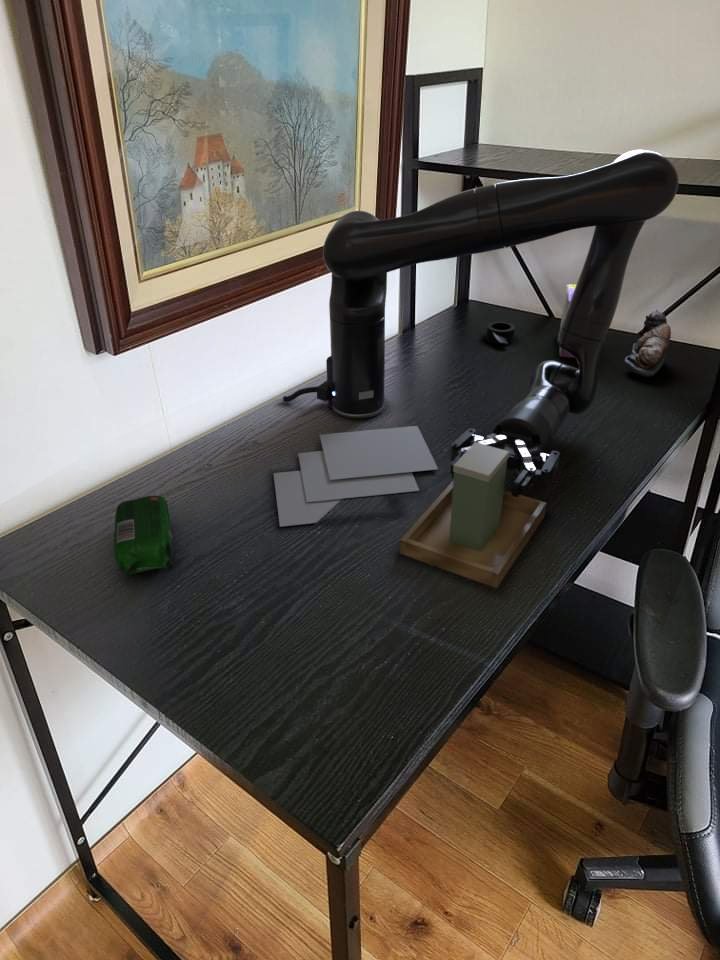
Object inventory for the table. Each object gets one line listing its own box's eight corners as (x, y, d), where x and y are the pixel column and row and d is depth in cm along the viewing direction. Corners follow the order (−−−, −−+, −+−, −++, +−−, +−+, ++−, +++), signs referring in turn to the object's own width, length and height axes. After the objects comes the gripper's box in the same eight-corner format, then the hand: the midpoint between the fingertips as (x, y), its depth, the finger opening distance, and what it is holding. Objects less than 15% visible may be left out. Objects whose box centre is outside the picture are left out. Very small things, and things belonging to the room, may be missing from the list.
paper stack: (454, 508, 104) (455, 504, 104) (279, 526, 101) (279, 522, 100) (417, 429, 123) (417, 425, 123) (269, 442, 120) (269, 439, 120)
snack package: (119, 594, 90) (111, 562, 87) (119, 521, 102) (112, 490, 99) (177, 584, 91) (171, 552, 88) (171, 513, 104) (166, 483, 101)
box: (588, 359, 147) (598, 302, 140) (559, 357, 148) (568, 300, 141) (585, 339, 155) (595, 285, 149) (558, 337, 156) (566, 283, 150)
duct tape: (526, 335, 157) (528, 323, 156) (505, 351, 151) (507, 337, 149) (494, 328, 161) (495, 315, 160) (472, 342, 154) (473, 329, 153)
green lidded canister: (447, 541, 97) (453, 465, 91) (468, 515, 102) (474, 441, 96) (481, 552, 95) (489, 475, 89) (500, 526, 100) (509, 451, 93)
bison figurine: (658, 384, 137) (670, 333, 131) (619, 377, 140) (630, 327, 134) (665, 360, 146) (677, 311, 140) (629, 354, 149) (639, 306, 143)
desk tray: (399, 554, 96) (399, 539, 94) (456, 489, 108) (457, 475, 107) (496, 590, 90) (498, 574, 88) (544, 517, 102) (546, 502, 101)
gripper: (484, 395, 108) (436, 443, 97) (578, 418, 102) (539, 472, 90) (480, 439, 112) (434, 490, 101) (571, 463, 106) (532, 521, 95)
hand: (484, 481), depth 96 cm, fingers open, 8 cm apart
